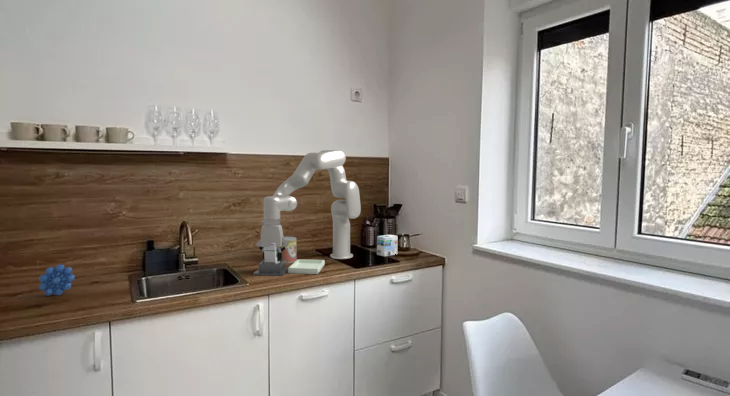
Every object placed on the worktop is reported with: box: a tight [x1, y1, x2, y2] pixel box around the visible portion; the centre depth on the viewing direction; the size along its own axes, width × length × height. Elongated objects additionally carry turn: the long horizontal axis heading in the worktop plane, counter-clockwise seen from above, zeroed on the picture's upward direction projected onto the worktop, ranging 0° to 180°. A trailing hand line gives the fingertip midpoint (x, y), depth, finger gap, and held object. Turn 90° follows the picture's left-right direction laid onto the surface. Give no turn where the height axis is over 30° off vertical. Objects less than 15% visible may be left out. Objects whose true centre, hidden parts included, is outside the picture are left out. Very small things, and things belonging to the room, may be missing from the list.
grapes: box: [38, 264, 76, 296], centre depth 158 cm, size 12×7×12 cm, turn 113°
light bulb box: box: [376, 234, 399, 257], centre depth 234 cm, size 11×7×11 cm, turn 131°
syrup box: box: [263, 243, 280, 264], centre depth 194 cm, size 6×6×14 cm
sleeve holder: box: [252, 259, 291, 277], centre depth 195 cm, size 14×14×5 cm
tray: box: [287, 258, 326, 275], centre depth 201 cm, size 18×14×2 cm
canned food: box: [282, 236, 298, 264], centre depth 217 cm, size 11×11×12 cm
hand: (272, 260), depth 194 cm, fingers closed on syrup box, 6 cm apart
